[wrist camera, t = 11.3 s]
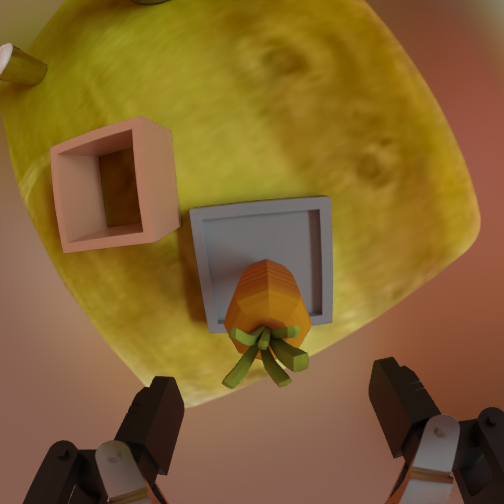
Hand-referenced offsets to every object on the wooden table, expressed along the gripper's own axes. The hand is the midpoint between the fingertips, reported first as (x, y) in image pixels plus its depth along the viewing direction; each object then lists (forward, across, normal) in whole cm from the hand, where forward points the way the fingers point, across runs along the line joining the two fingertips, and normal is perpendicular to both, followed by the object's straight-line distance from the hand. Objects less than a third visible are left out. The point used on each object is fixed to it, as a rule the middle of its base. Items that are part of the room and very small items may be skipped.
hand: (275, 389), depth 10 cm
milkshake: (+17, +26, -27) cm, 41 cm away
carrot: (+16, 0, 0) cm, 16 cm away
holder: (+17, +12, -9) cm, 22 cm away
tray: (+17, 0, 0) cm, 17 cm away
